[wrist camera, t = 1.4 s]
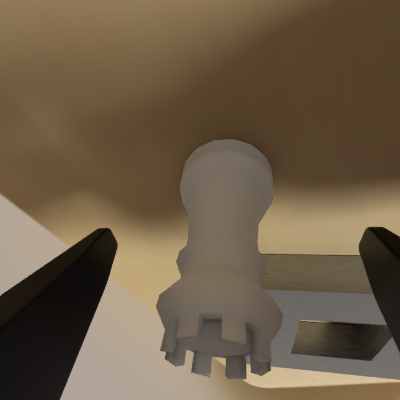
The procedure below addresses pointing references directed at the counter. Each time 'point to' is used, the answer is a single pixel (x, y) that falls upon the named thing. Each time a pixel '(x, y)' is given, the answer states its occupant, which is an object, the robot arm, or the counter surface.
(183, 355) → the rook chess piece
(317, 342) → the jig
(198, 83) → the counter surface
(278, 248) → the counter surface
